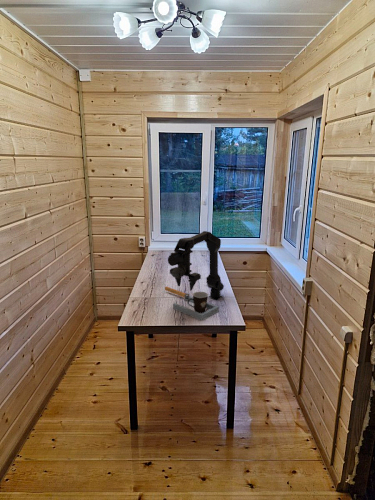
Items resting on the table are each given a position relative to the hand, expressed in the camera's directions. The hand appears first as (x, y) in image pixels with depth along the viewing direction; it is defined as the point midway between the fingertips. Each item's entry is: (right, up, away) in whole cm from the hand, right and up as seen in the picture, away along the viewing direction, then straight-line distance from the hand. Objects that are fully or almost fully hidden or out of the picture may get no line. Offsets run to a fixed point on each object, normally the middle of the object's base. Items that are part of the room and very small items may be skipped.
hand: (184, 288), depth 178 cm
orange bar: (-5, -7, +25) cm, 27 cm away
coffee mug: (+7, -14, +6) cm, 17 cm away
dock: (+4, -13, +8) cm, 16 cm away
